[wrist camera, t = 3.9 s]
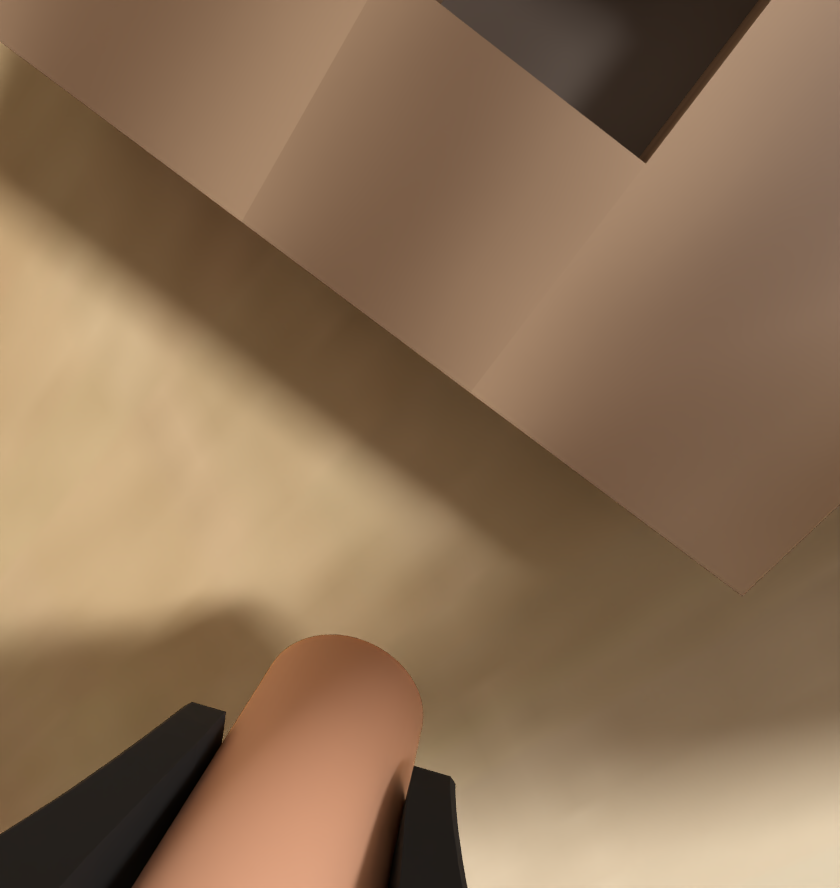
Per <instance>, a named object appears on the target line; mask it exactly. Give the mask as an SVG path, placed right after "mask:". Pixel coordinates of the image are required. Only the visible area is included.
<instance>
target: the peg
mask: <svg viewBox="0 0 840 888" xmlns="http://www.w3.org/2000/svg"><path fill="white" fill-rule="evenodd" d="M422 725H423V707H422V702H421V698H420V694H419V692H418V690H417V687H416V685H415V683H414V682H413V680H412V678H411V676H410V675H409V674H408V672H407V671H406V670H405V669H404V667H403V666H402V665H401V664H400V663H399V662H398V661H397V660H396V659H394V658H393V657H392V656H391V655H389V654H388V653H387V652H385V651H384V650H382V649H380V648H379V647H377V646H375V645H373V644H371V643H369V642H366V641H363V640H361V639H358V638H354V637H349V636H343V635H319V636H313V637H309V638H305V639H303V640H301V641H298V642H296V643H294V644H293V645H291V646H289V647H288V648H286V649H285V650H284V651H283V652H281V653H280V655H279V656H278V657H277V658H276V659H275V660H274V662H273V663H272V665H271V666H270V668H269V669H268V671H267V673H266V674H265V676H264V677H263V679H262V681H261V682H260V684H259V685H258V687H257V689H256V690H255V692H254V693H253V695H252V697H251V698H250V700H249V701H248V703H247V705H246V706H245V708H244V709H243V711H242V713H241V714H240V716H239V717H238V719H237V720H236V722H235V724H234V725H233V727H232V728H231V730H230V732H229V733H228V735H227V736H226V738H225V740H224V741H223V743H222V744H221V746H220V748H219V749H218V751H217V752H216V754H215V756H214V757H213V759H212V760H211V762H210V764H209V765H208V767H207V768H206V770H205V771H204V773H203V775H202V776H201V778H200V779H199V781H198V783H197V784H196V786H195V787H194V789H193V791H192V792H191V794H190V795H189V797H188V799H187V800H186V802H185V803H184V805H183V807H182V808H181V810H180V811H179V813H178V815H177V816H176V818H175V819H174V821H173V822H172V824H171V826H170V827H169V829H168V830H167V832H166V834H165V835H164V837H163V838H162V840H161V842H160V843H159V845H158V846H157V848H156V850H155V851H154V853H153V854H152V856H151V858H150V859H149V861H148V862H147V864H146V866H145V867H144V869H143V870H142V872H141V873H140V875H139V877H138V878H137V880H136V881H135V883H134V885H133V886H132V888H388V884H389V879H390V873H391V866H392V860H393V854H394V850H395V845H396V840H397V836H398V831H399V827H400V822H401V817H402V813H403V808H404V803H405V799H406V795H407V791H408V787H409V783H410V779H411V775H412V771H413V767H414V763H415V758H416V753H417V748H418V744H419V739H420V734H421V730H422Z"/></svg>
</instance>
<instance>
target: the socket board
mask: <svg viewBox="0 0 840 888" xmlns="http://www.w3.org/2000/svg"><path fill="white" fill-rule="evenodd" d="M0 42H1V43H3V44H4V45H5V46H7V47H8V48H9V49H11V50H12V51H13V52H15V53H16V54H17V55H19V56H20V57H21V58H23V59H24V60H25V61H27V62H28V63H29V64H31V65H32V66H33V67H35V68H36V69H38V70H39V71H40V72H42V73H43V74H44V75H46V76H47V77H48V78H50V79H51V80H52V81H54V82H55V83H56V84H58V85H59V86H60V87H62V88H63V89H64V90H66V91H67V92H68V93H70V94H71V95H72V96H74V97H75V98H76V99H78V100H79V101H80V102H82V103H83V104H84V105H86V106H87V107H88V108H90V109H91V110H92V111H94V112H95V113H96V114H98V115H99V116H100V117H102V118H103V119H104V120H106V121H107V122H108V123H110V124H111V125H112V126H114V127H115V128H116V129H118V130H119V131H120V132H122V133H123V134H124V135H126V136H127V137H128V138H130V139H131V140H133V141H134V142H135V143H137V144H138V145H139V146H141V147H142V148H143V149H145V150H146V151H147V152H149V153H150V154H151V155H153V156H154V157H155V158H157V159H158V160H159V161H161V162H162V163H163V164H165V165H166V166H167V167H169V168H170V169H171V170H173V171H174V172H175V173H177V174H178V175H179V176H181V177H182V178H183V179H185V180H186V181H187V182H189V183H190V184H191V185H193V186H194V187H195V188H197V189H198V190H199V191H201V192H202V193H203V194H205V195H206V196H207V197H209V198H210V199H211V200H213V201H214V202H215V203H217V204H218V205H219V206H221V207H222V208H223V209H225V210H226V211H228V212H229V213H230V214H232V215H233V216H234V217H236V218H237V219H238V220H240V221H241V222H242V223H244V224H245V225H246V226H248V227H249V228H250V229H252V230H253V231H254V232H256V233H257V234H258V235H260V236H261V237H262V238H264V239H265V240H266V241H268V242H269V243H270V244H272V245H273V246H274V247H276V248H277V249H278V250H280V251H281V252H282V253H284V254H285V255H286V256H288V257H289V258H290V259H292V260H293V261H294V262H296V263H297V264H298V265H300V266H301V267H302V268H304V269H305V270H306V271H308V272H309V273H310V274H312V275H313V276H314V277H316V278H317V279H318V280H320V281H321V282H323V283H324V284H325V285H327V286H328V287H329V288H331V289H332V290H333V291H335V292H336V293H337V294H339V295H340V296H341V297H343V298H344V299H345V300H347V301H348V302H349V303H351V304H352V305H353V306H355V307H356V308H357V309H359V310H360V311H361V312H363V313H364V314H365V315H367V316H368V317H369V318H371V319H372V320H373V321H375V322H376V323H377V324H379V325H380V326H381V327H383V328H384V329H385V330H387V331H388V332H389V333H391V334H392V335H393V336H395V337H396V338H397V339H399V340H400V341H401V342H403V343H404V344H405V345H407V346H408V347H409V348H411V349H412V350H413V351H415V352H416V353H418V354H419V355H420V356H422V357H423V358H424V359H426V360H427V361H428V362H430V363H431V364H432V365H434V366H435V367H436V368H438V369H439V370H440V371H442V372H443V373H444V374H446V375H447V376H448V377H450V378H451V379H452V380H454V381H455V382H456V383H458V384H459V385H460V386H462V387H463V388H464V389H466V390H467V391H468V392H470V393H471V394H472V395H474V396H475V397H476V398H478V399H479V400H480V401H482V402H483V403H484V404H486V405H487V406H488V407H490V408H491V409H492V410H494V411H495V412H496V413H498V414H499V415H500V416H502V417H503V418H504V419H506V420H507V421H508V422H510V423H511V424H513V425H514V426H515V427H517V428H518V429H519V430H521V431H522V432H523V433H525V434H526V435H527V436H529V437H530V438H531V439H533V440H534V441H535V442H537V443H538V444H539V445H541V446H542V447H543V448H545V449H546V450H547V451H549V452H550V453H551V454H553V455H554V456H555V457H557V458H558V459H559V460H561V461H562V462H563V463H565V464H566V465H567V466H569V467H570V468H571V469H573V470H574V471H575V472H577V473H578V474H579V475H581V476H582V477H583V478H585V479H586V480H587V481H589V482H590V483H591V484H593V485H594V486H595V487H597V488H598V489H599V490H601V491H602V492H604V493H605V494H606V495H608V496H609V497H610V498H612V499H613V500H614V501H616V502H617V503H618V504H620V505H621V506H622V507H624V508H625V509H626V510H628V511H629V512H630V513H632V514H633V515H634V516H636V517H637V518H638V519H640V520H641V521H642V522H644V523H645V524H646V525H648V526H649V527H650V528H652V529H653V530H654V531H656V532H657V533H658V534H660V535H661V536H662V537H664V538H665V539H666V540H668V541H669V542H670V543H672V544H673V545H674V546H676V547H677V548H678V549H680V550H681V551H682V552H684V553H685V554H686V555H688V556H689V557H690V558H692V559H693V560H694V561H696V562H697V563H699V564H700V565H701V566H703V567H704V568H705V569H707V570H708V571H709V572H711V573H712V574H713V575H715V576H716V577H717V578H719V579H720V580H721V581H723V582H724V583H725V584H727V585H728V586H729V587H731V588H732V589H733V590H735V591H736V592H737V593H739V594H740V595H741V596H743V595H744V594H745V593H746V592H747V591H748V590H749V589H750V588H751V587H752V586H753V585H754V584H756V583H757V582H758V581H759V580H760V579H761V578H762V577H763V576H764V575H765V574H766V573H767V572H768V571H769V570H770V569H772V568H773V567H774V566H775V565H776V564H777V563H778V562H779V561H780V560H781V559H782V558H783V557H784V556H785V555H786V554H788V553H789V552H790V551H791V550H792V549H793V548H794V547H795V546H796V545H797V544H798V543H799V542H800V541H801V540H802V539H803V538H805V537H806V536H807V535H808V534H809V533H810V532H811V531H812V530H813V529H814V528H815V527H816V526H817V525H818V524H819V523H821V522H822V521H823V520H824V519H825V518H826V517H827V516H828V515H829V514H830V513H831V512H832V511H833V510H834V509H835V508H837V507H838V506H839V505H840V0H0Z"/></svg>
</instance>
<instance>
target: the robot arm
mask: <svg viewBox="0 0 840 888" xmlns="http://www.w3.org/2000/svg"><path fill="white" fill-rule="evenodd" d="M225 715H226V712H225V711H221V710H218V709H214V708H211V707H207V706H204V705H200V704H197V703H193V702H191V703H189V704H187V705H186V706H184V707H183V708H181V709H180V710H179V711H177V712H176V713H175V714H173V715H172V716H171V717H169V718H168V719H167V720H166V721H164V722H163V723H162V724H160V725H159V726H158V727H156V728H155V729H154V730H152V731H151V732H150V733H148V734H147V735H146V736H144V737H143V738H142V739H140V740H139V741H137V742H136V743H135V744H133V745H132V746H131V747H129V748H128V749H127V750H125V751H124V752H122V753H121V754H120V755H118V756H117V757H116V758H114V759H113V760H111V761H110V762H108V763H107V764H106V765H104V766H103V767H101V768H100V769H98V770H97V771H96V772H94V773H93V774H91V775H90V776H88V777H87V778H86V779H84V780H83V781H81V782H80V783H78V784H77V785H76V786H74V787H73V788H71V789H70V790H68V791H67V792H65V793H64V794H62V795H61V796H59V797H58V798H56V799H55V800H53V801H52V802H50V803H48V804H47V805H45V806H44V807H42V808H41V809H39V810H37V811H36V812H34V813H33V814H31V815H30V816H28V817H27V818H25V819H23V820H22V821H20V822H19V823H17V824H16V825H14V826H12V827H11V828H9V829H8V830H6V831H5V832H3V833H1V834H0V888H132V886H133V885H134V883H135V881H136V880H137V878H138V877H139V875H140V873H141V872H142V870H143V869H144V867H145V866H146V864H147V862H148V861H149V859H150V858H151V856H152V854H153V853H154V851H155V850H156V848H157V846H158V845H159V843H160V842H161V840H162V838H163V837H164V835H165V834H166V832H167V830H168V829H169V827H170V826H171V824H172V822H173V821H174V819H175V818H176V816H177V815H178V813H179V811H180V810H181V808H182V807H183V805H184V803H185V802H186V800H187V799H188V797H189V795H190V794H191V792H192V791H193V789H194V787H195V786H196V784H197V783H198V781H199V779H200V778H201V776H202V775H203V773H204V771H205V770H206V768H207V767H208V765H209V764H210V762H211V760H212V759H213V757H214V756H215V754H216V752H217V751H218V749H219V748H220V746H221V744H222V738H223V730H224V723H225ZM388 888H467V883H466V878H465V872H464V866H463V860H462V854H461V847H460V840H459V832H458V823H457V813H456V798H455V783H454V781H453V780H452V778H451V777H450V776H447V775H444V774H440V773H437V772H433V771H430V770H426V769H423V768H419V767H416V766H414V767H413V771H412V775H411V779H410V783H409V787H408V791H407V795H406V799H405V803H404V808H403V813H402V817H401V822H400V827H399V831H398V836H397V840H396V845H395V850H394V854H393V860H392V866H391V873H390V879H389V884H388Z"/></svg>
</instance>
